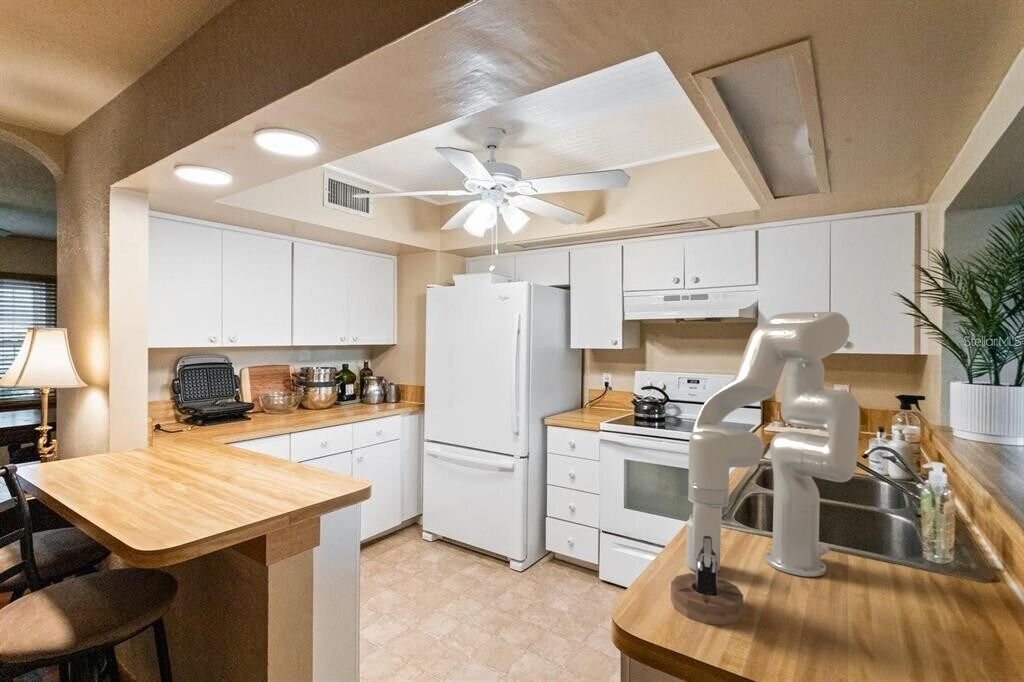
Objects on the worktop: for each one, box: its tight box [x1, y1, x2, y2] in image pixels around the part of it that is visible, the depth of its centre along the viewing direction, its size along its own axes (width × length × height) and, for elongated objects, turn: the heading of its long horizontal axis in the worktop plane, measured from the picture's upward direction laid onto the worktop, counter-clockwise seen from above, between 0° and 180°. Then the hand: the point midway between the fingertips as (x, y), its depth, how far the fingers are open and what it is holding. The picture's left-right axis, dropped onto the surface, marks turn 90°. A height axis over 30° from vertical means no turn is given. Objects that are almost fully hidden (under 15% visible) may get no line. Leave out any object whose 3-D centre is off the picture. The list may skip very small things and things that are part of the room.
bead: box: [670, 572, 744, 626], centre depth 100 cm, size 13×13×4 cm
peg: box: [695, 557, 719, 596], centre depth 100 cm, size 4×4×9 cm
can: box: [685, 513, 722, 573], centre depth 117 cm, size 8×8×12 cm
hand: (706, 579), depth 100 cm, fingers open, 9 cm apart
